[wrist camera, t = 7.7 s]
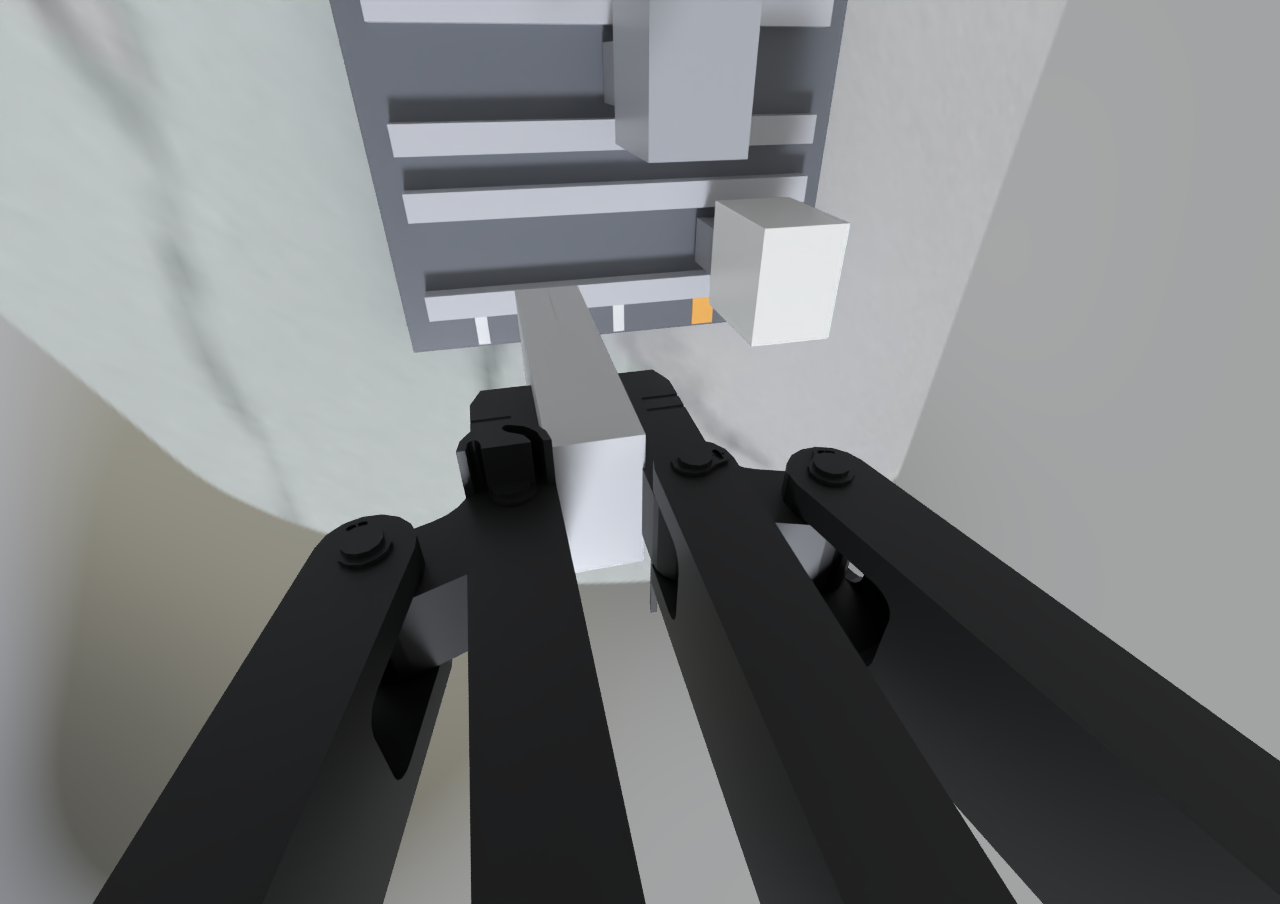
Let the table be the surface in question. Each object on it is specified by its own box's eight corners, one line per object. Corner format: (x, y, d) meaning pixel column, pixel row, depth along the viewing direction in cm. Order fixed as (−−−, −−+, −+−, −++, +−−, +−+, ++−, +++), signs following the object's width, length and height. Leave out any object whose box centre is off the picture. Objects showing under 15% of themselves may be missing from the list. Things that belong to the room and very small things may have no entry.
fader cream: (696, 189, 24) (764, 228, 18) (764, 186, 24) (850, 223, 19) (691, 286, 26) (751, 346, 20) (753, 280, 26) (828, 338, 21)
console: (321, -76, 19) (301, -95, 16) (829, -55, 22) (870, -67, 20) (417, 334, 26) (412, 360, 24) (779, 301, 30) (805, 321, 28)
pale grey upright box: (598, 2, 19) (649, -19, 14) (683, 3, 20) (764, -17, 15) (602, 136, 22) (648, 163, 16) (678, 134, 22) (747, 159, 17)
